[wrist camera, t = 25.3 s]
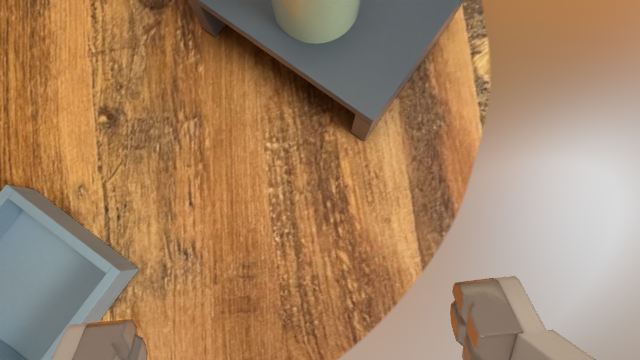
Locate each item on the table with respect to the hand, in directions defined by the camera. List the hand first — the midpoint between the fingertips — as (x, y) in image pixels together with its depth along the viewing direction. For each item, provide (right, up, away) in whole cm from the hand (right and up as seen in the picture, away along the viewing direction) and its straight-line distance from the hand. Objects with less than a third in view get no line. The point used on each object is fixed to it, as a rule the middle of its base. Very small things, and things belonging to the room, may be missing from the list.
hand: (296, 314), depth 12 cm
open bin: (-23, -5, +28) cm, 36 cm away
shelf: (+1, +18, +31) cm, 36 cm away
